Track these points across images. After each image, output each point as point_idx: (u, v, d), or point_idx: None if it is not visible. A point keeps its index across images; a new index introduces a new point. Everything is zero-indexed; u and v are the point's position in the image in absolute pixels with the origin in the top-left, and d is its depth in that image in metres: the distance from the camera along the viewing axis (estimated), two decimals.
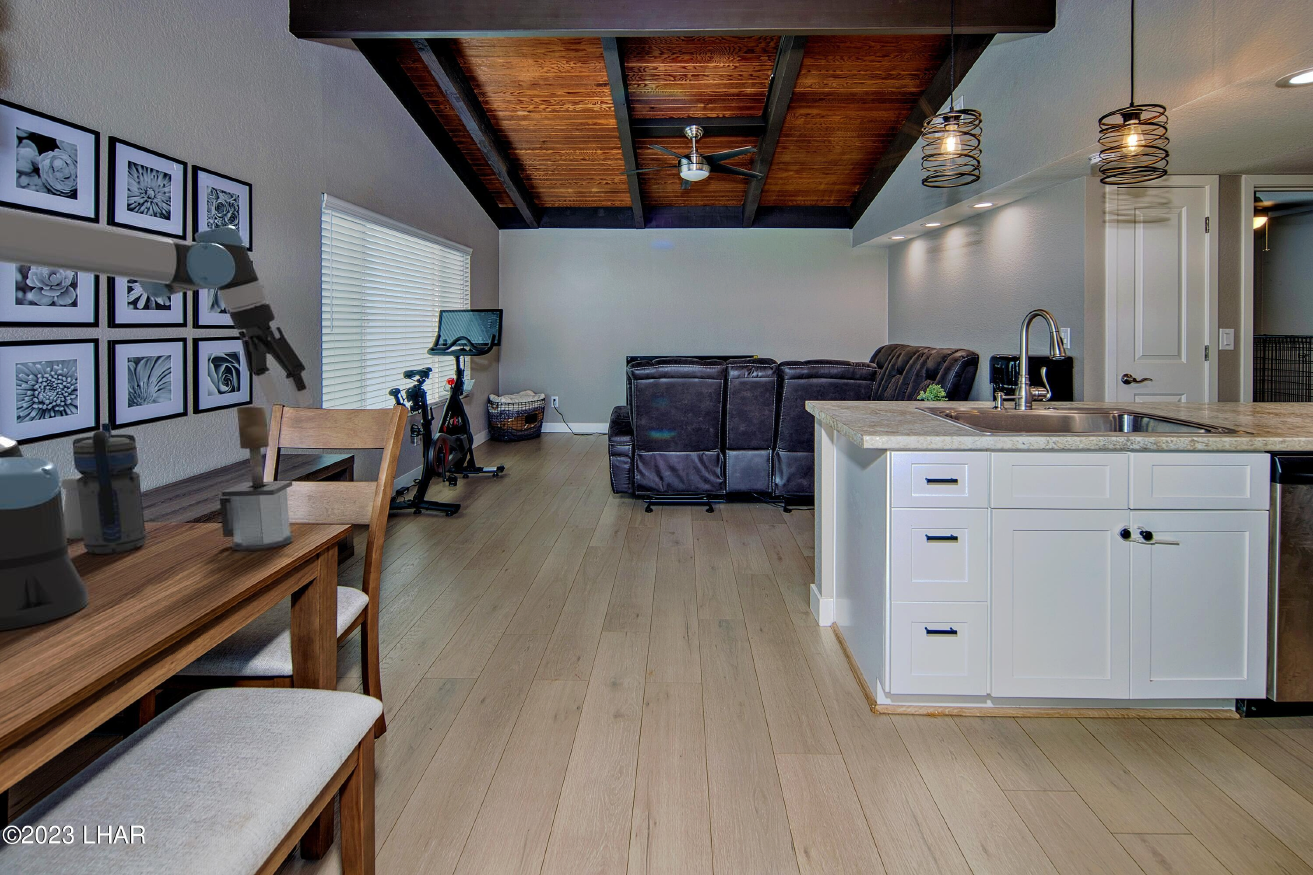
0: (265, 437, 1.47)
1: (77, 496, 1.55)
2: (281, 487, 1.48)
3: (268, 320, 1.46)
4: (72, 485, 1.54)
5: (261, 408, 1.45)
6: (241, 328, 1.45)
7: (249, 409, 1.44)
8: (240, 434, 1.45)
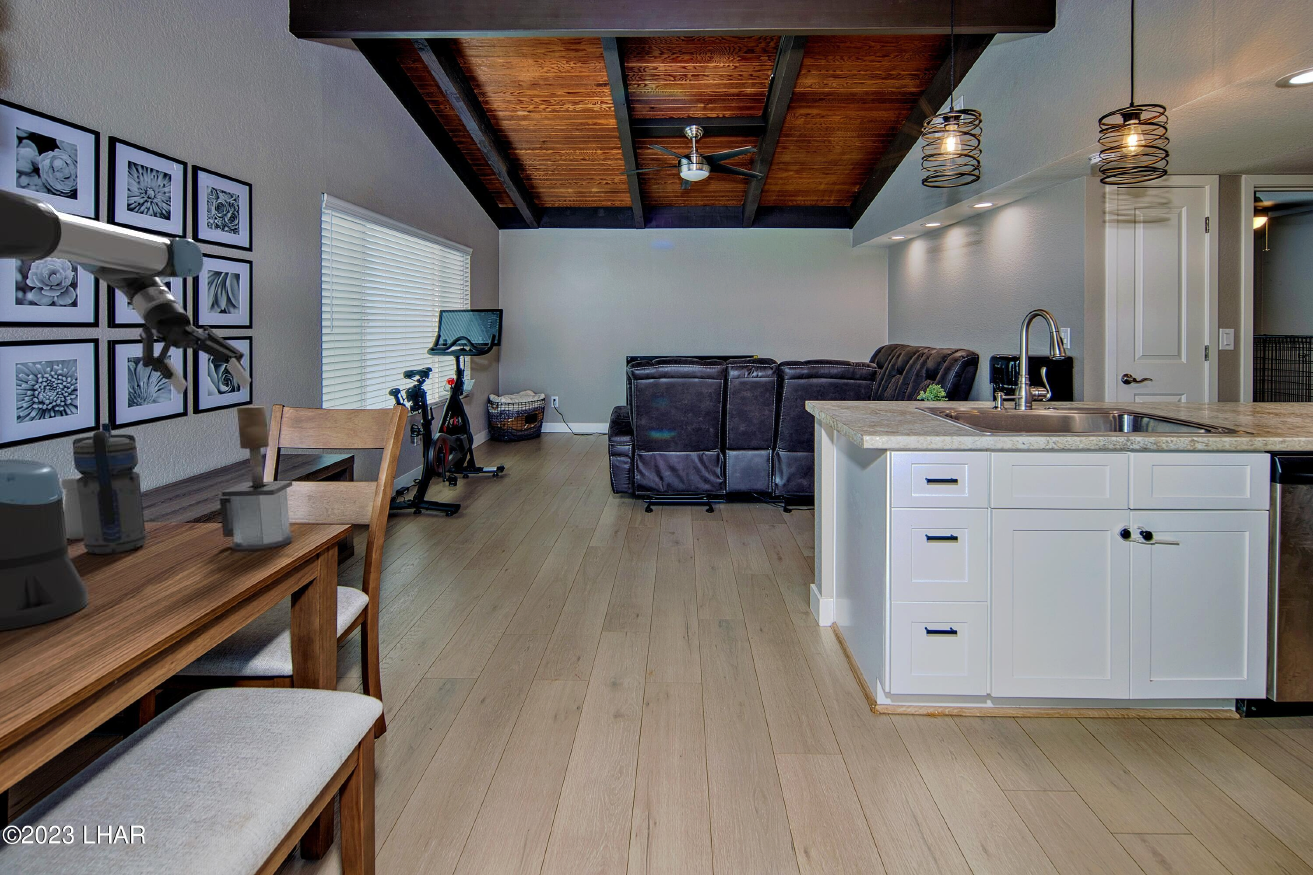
0: (265, 437, 1.47)
1: (77, 496, 1.55)
2: (281, 487, 1.48)
3: (154, 321, 1.49)
4: (72, 485, 1.54)
5: (261, 408, 1.45)
6: None
7: (249, 409, 1.44)
8: (240, 434, 1.45)
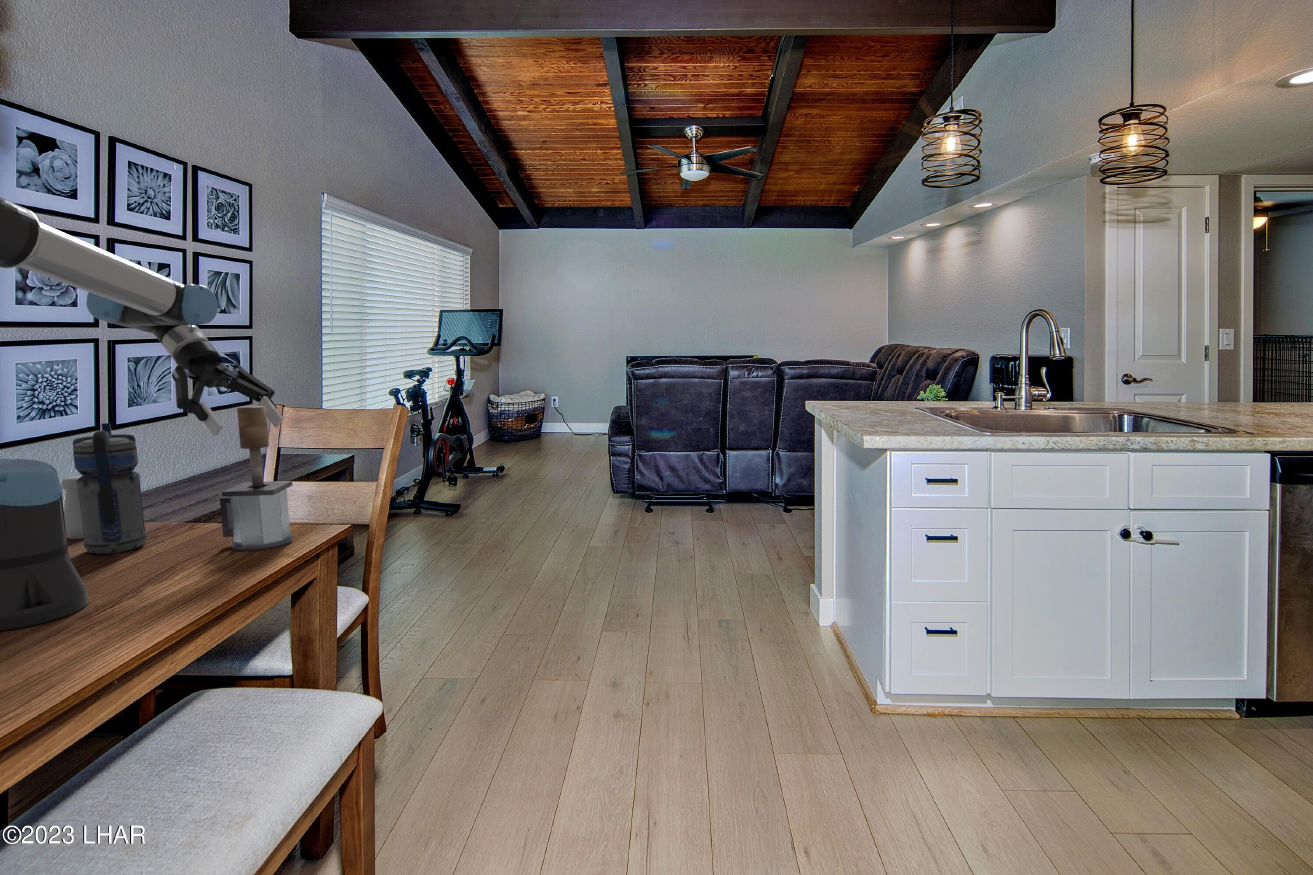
0: (265, 437, 1.47)
1: (77, 496, 1.55)
2: (281, 487, 1.48)
3: (186, 360, 1.47)
4: (72, 485, 1.54)
5: (261, 408, 1.45)
6: None
7: (249, 409, 1.44)
8: (240, 434, 1.45)
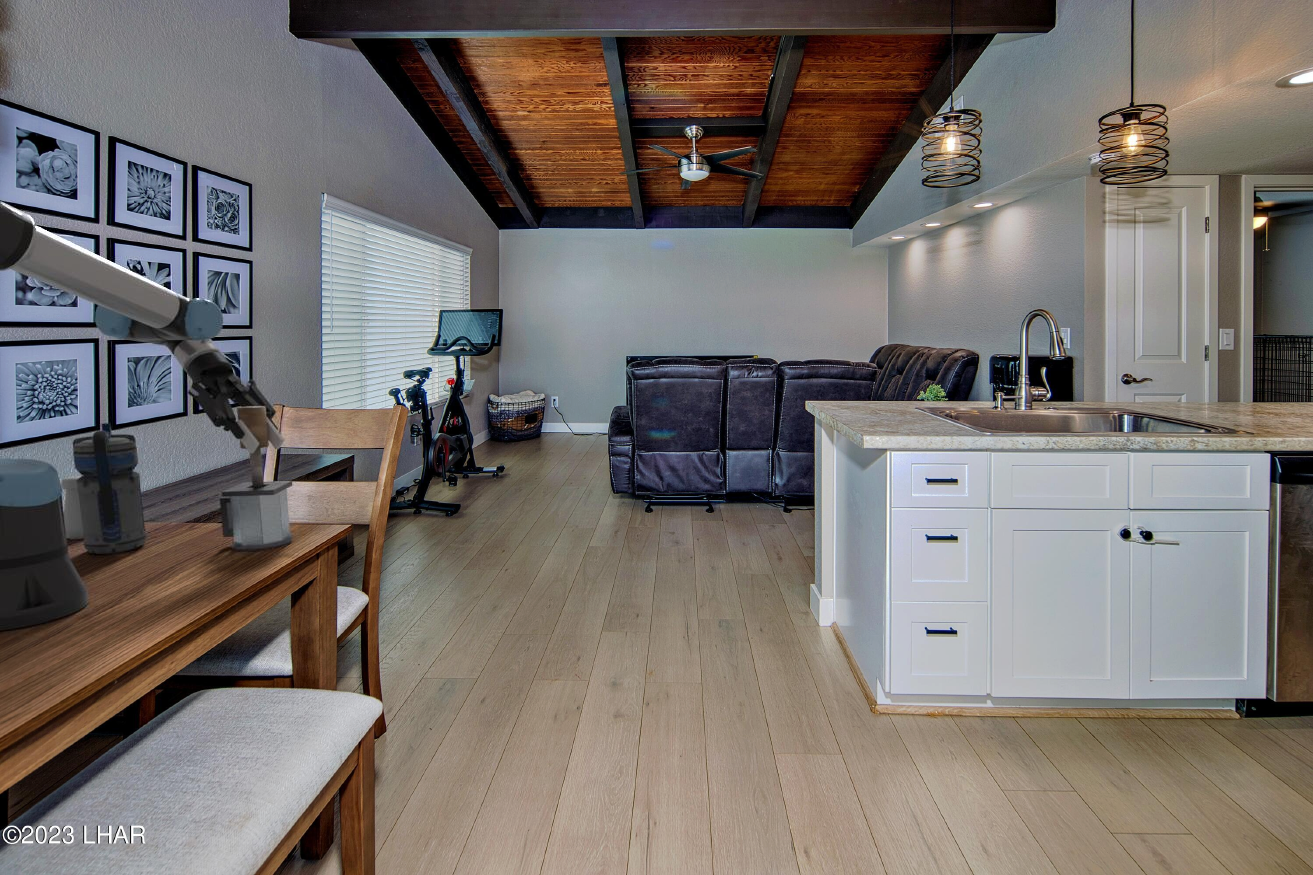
0: (265, 437, 1.47)
1: (77, 496, 1.55)
2: (281, 487, 1.48)
3: (198, 372, 1.46)
4: (72, 485, 1.54)
5: (261, 408, 1.45)
6: None
7: (249, 409, 1.44)
8: None
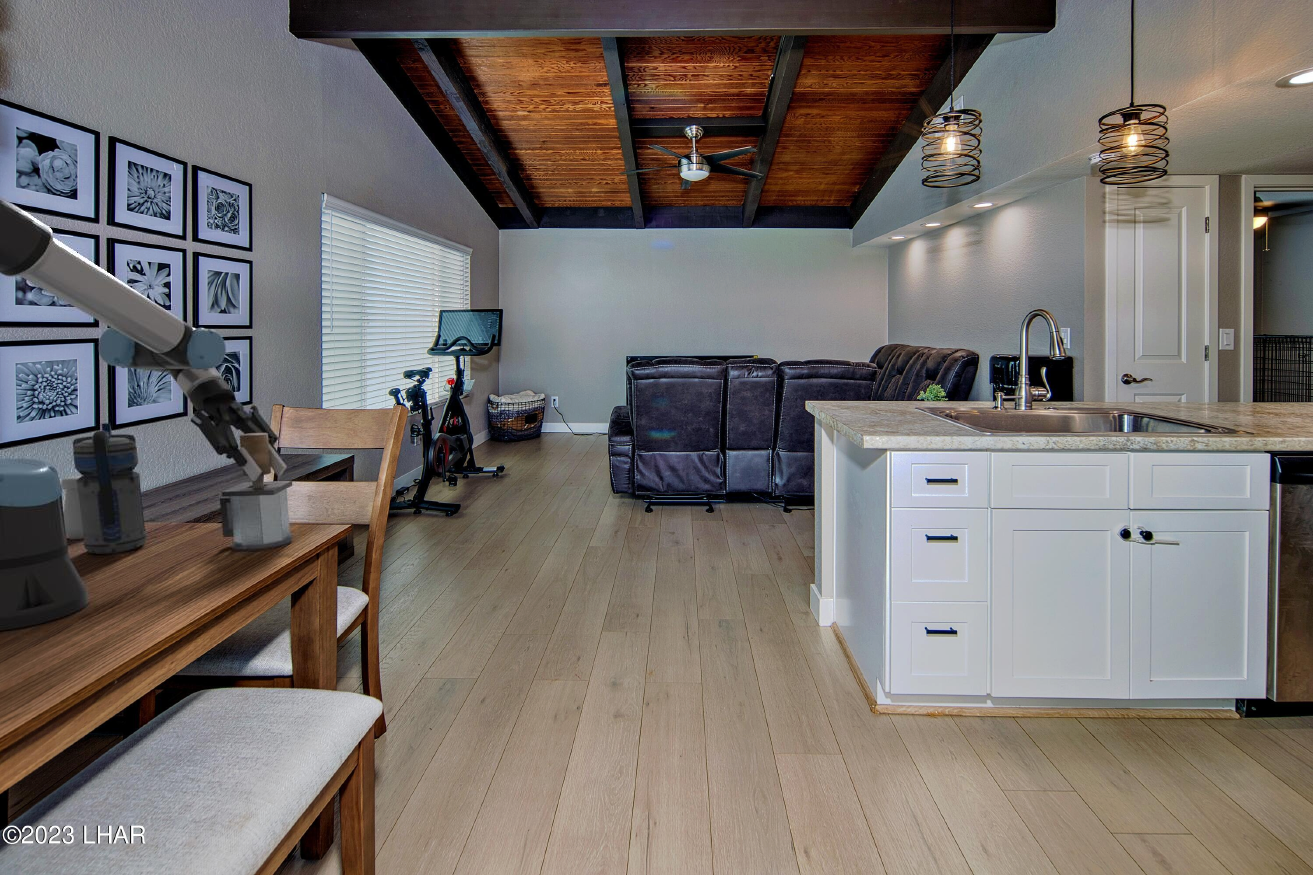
0: (268, 464, 1.47)
1: (77, 496, 1.55)
2: (281, 487, 1.48)
3: (201, 399, 1.46)
4: (72, 485, 1.54)
5: (263, 435, 1.46)
6: None
7: (251, 437, 1.44)
8: None
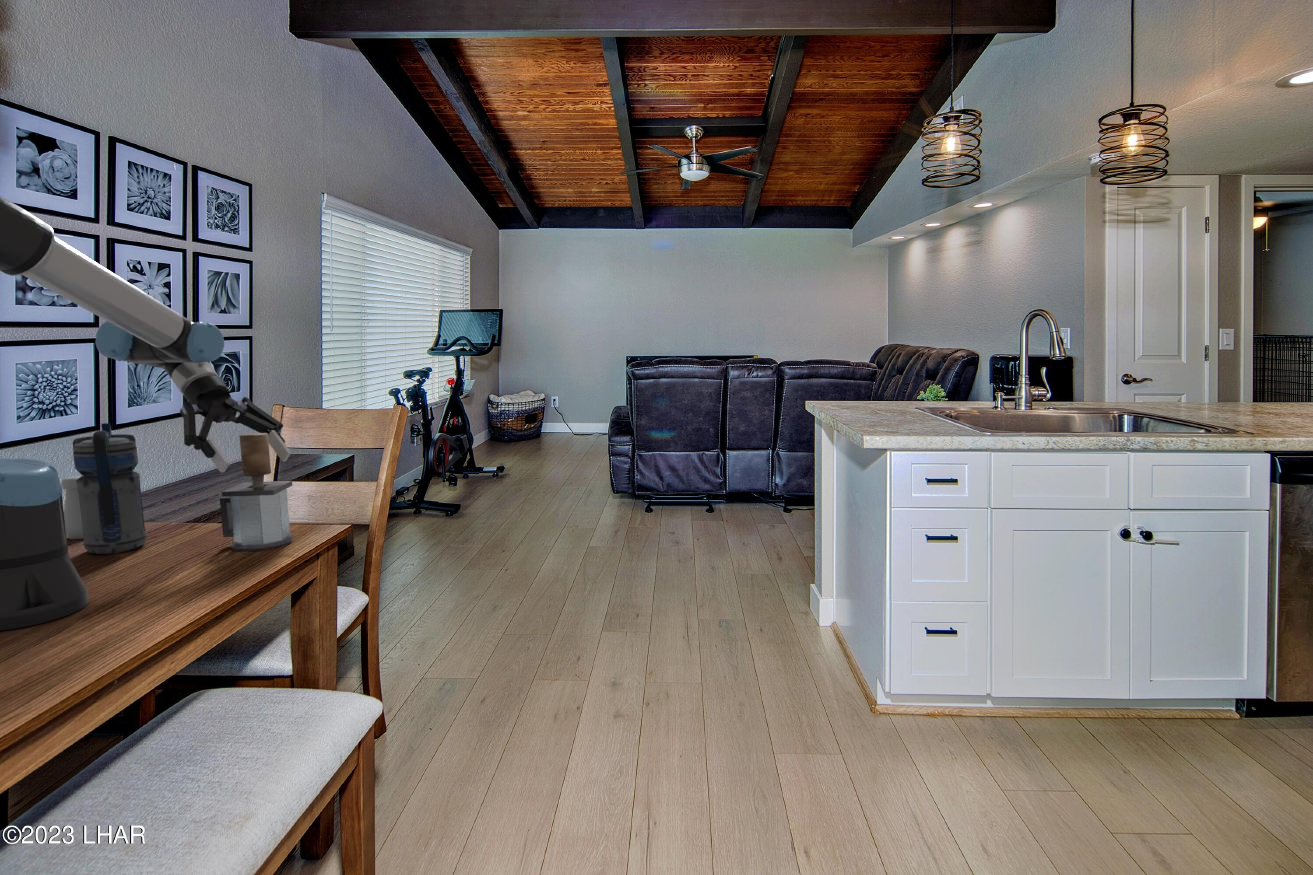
0: (268, 464, 1.47)
1: (77, 496, 1.55)
2: (281, 487, 1.48)
3: (195, 396, 1.47)
4: (72, 485, 1.54)
5: (263, 436, 1.46)
6: None
7: (251, 437, 1.44)
8: (242, 462, 1.46)
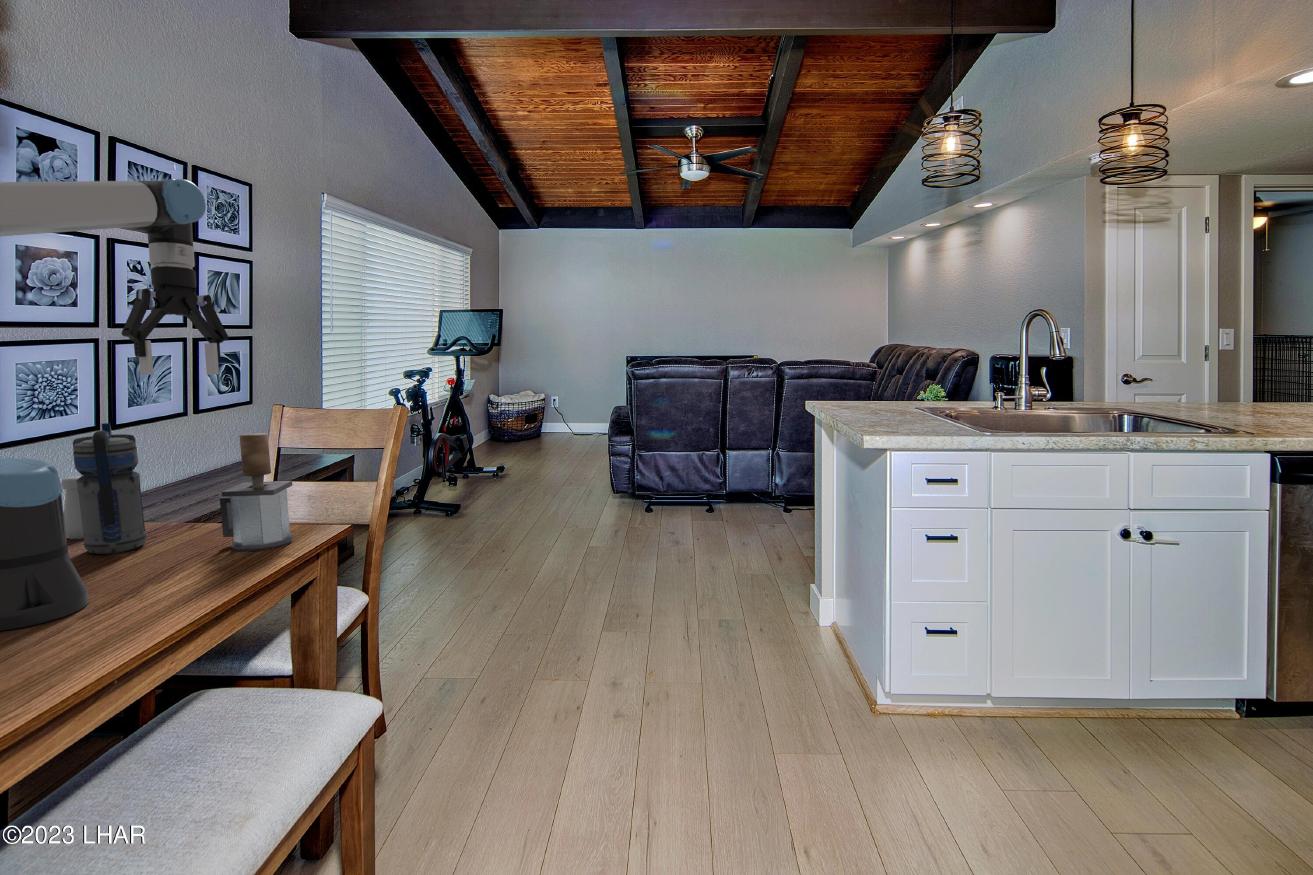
0: (268, 464, 1.47)
1: (77, 496, 1.55)
2: (281, 487, 1.48)
3: (159, 282, 1.43)
4: (72, 485, 1.54)
5: (263, 436, 1.46)
6: None
7: (251, 437, 1.44)
8: (242, 462, 1.46)
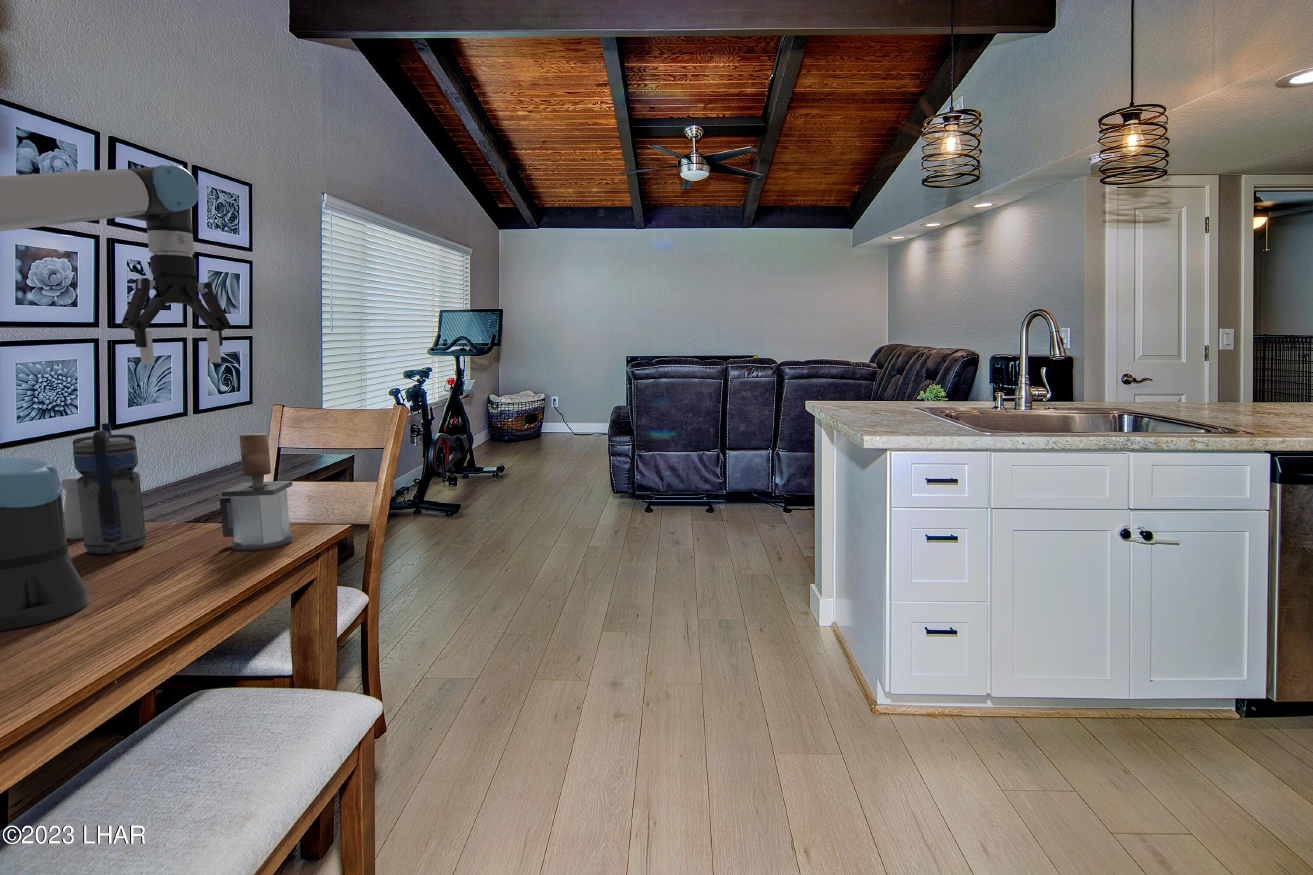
0: (268, 464, 1.47)
1: (77, 496, 1.55)
2: (281, 487, 1.48)
3: (158, 271, 1.41)
4: (72, 485, 1.54)
5: (263, 436, 1.46)
6: None
7: (251, 437, 1.44)
8: (242, 462, 1.46)
